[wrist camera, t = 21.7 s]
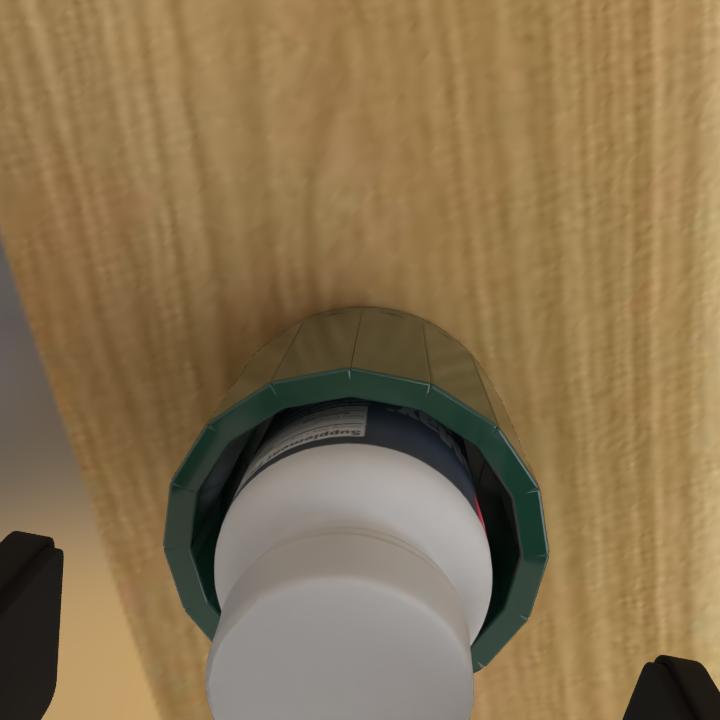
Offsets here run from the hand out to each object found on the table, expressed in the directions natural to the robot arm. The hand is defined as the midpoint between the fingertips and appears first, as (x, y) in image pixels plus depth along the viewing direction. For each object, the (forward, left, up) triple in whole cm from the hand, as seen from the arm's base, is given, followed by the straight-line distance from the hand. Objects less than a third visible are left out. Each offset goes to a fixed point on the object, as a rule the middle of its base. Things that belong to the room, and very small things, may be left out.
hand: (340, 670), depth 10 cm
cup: (0, 0, -9) cm, 9 cm away
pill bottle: (0, 0, -8) cm, 8 cm away
